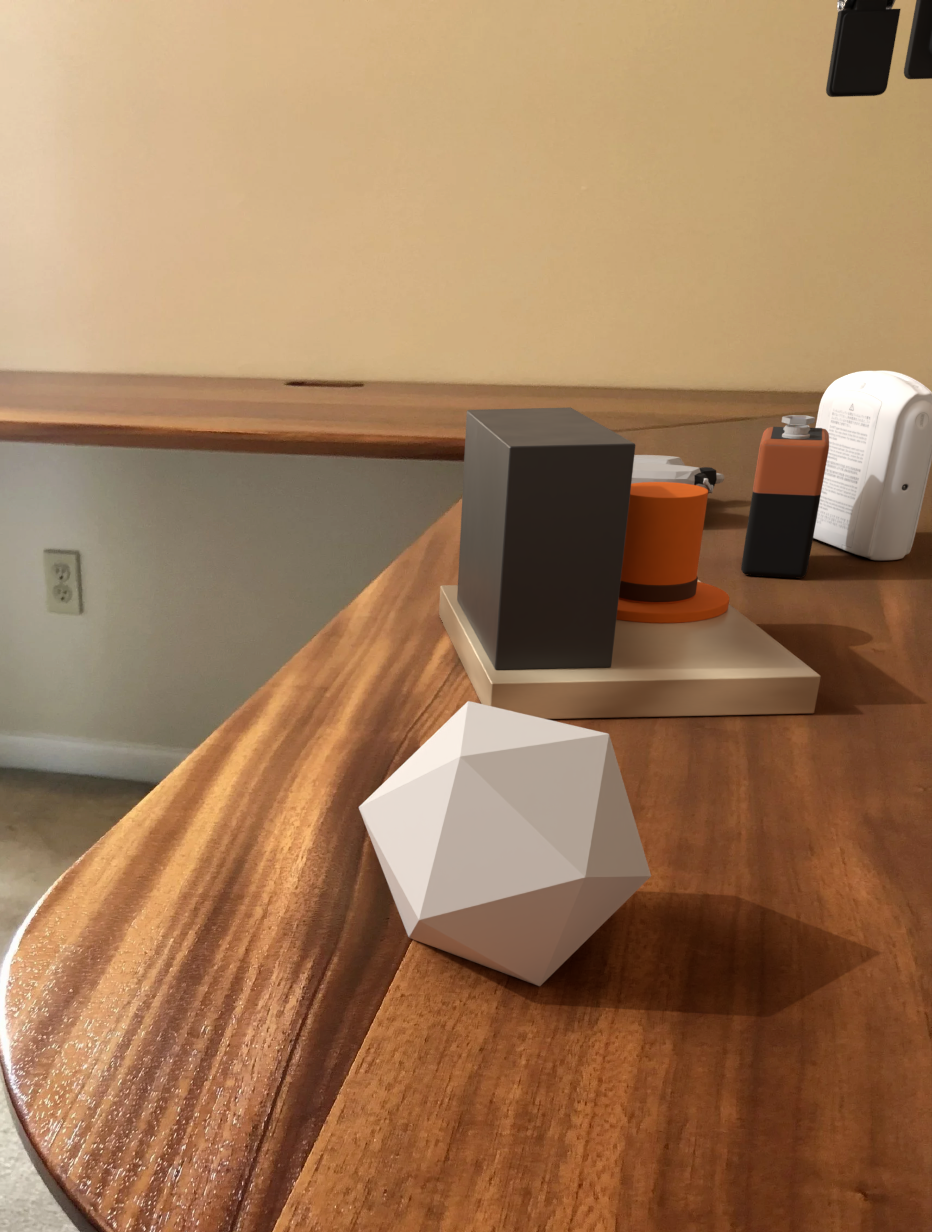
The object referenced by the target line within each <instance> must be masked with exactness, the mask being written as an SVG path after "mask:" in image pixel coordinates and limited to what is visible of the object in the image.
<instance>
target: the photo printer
mask: <svg viewBox="0 0 932 1232" xmlns="http://www.w3.org/2000/svg"><path fill="white" fill-rule="evenodd" d="M815 422H816V423H815V427H814V428H822V429H826V430H827V431H828V433H829V451H828V457H827V462H826V468H825V474H824V479H823V485H822V491H821V496H820V502H819V508H818V513H817V519H816V524H815V530H814V536H813V539H815V540H818V541H819V542H823V543H826V544H828V545H829V546H830V545H831V546H833V547H835V548H838V549H841V550H843V551H846V552H848V553H851V554H854V555H857V556H860V557H864V558H866V559H868V560H871V561H876V562H879V561H881V562H885V561H897V560H902V559H903V558H905V556H906V555H909V554H910V552H911V550H912V547H913V544H914V541H915V537H916V532H917V529H918V524H919V519H920V515H921V511H922V507H923V502H924V497H925V494H926V493H925V492H926V489H927V483H928V481H929V475H930V470H931V466H932V390H931V389H930V388H928V387H927V386H926V385H924V384H923V383H922V382H920V381H918V380H917V379H915V378H913V377H912V376H909V375H908V374H904V373H901V372H898V371H897V372H896V371H893V370H862V371H861V370H860V371H856V372H855V371H854V372H851V373H849V374H845V375H843V376H841V377H839V378H837V379H835V380H834V381H833V382H832V383H831V384H829V386H828V387H827V388H826V390H825V391H824V393H823V395H822V397H821V399H820V402H819V406H818V412H817V417H816V421H815Z"/></svg>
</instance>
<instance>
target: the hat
mask: <svg viewBox="0 0 932 1232" xmlns="http://www.w3.org/2000/svg"><path fill="white" fill-rule="evenodd" d="M708 496H709V494H708V490H707V489H706V488H703V487H701V486H697V485H691V484H684V483H673V482H641V483H632V484H631V491H630V500H629V509H628V518H627V527H626V537H625V546H624V555H623V564H622V573H621V582H620V591H619V600H618V609H617V618H616V620H623V621H631V622H642V623H684V622H694V621H701V620H706V619H710V618H714V617H717V616H719V615H721V614H723V613H725V612H726V611H727V609H728V606H729V604H730V595H729V593H728V592H726V591H725V590H723V589H722V588H719V587H717V586H715V585H712V584H708V583H706V582H702V581H701V582H698V580H699V577H698V570H699V562H700V555H701V547H702V541H703V533H704V527H705V519H706V511H707V504H708Z"/></svg>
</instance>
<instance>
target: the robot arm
mask: <svg viewBox="0 0 932 1232" xmlns="http://www.w3.org/2000/svg"><path fill="white" fill-rule="evenodd" d="M895 3H896V0H837V3H836V9H837V10H836V11H837V17H836V23H835V29H834V35H833V43H832V48H831V56H830V62H829V67H828V74H827V81H826V88H825V93H826V95H827V96H828V97H830V98H845V97H875V96H876V97H877V96H881V95H883V94H884V93H885V92H886V91H887V88H888V83H889V77H890V72H891V66H892V62H893V55H894V50H895V49H894V48H895V44H896V38H897V32H898V27H899V21H900V16H901V15H900V14H901V9H902V8H893V7H894V5H895ZM904 61H905V62H904V67H903V75H904V77H905V78H906V79H907V80H932V0H916V1H915V6H914V11H913V17H912V23H911V28H910V34H909V39H908V43H907V50H906V56H905V60H904Z"/></svg>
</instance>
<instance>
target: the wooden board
mask: <svg viewBox="0 0 932 1232" xmlns="http://www.w3.org/2000/svg"><path fill="white" fill-rule="evenodd" d="M698 582H702V581H701V580H700V579H698ZM457 591H458V584H449V585H448V584H444V585H442V584H441V585H440V587H439V606H438V616H439V615H440V616H439V618H441V619H440V621H441V620H442V621H441V623H442V622H443V623H442V625H443V627H444V629H445V631H446V633H447V635H448V638H449V639H450V642H451V643H452V645H453V648H454V649H455V652H456V655H457V656H458V658H459V661H460V662H461V664H462V666H463V668H464V671H465V673H466V675H467V676H468V677H467V678H469V681H470V683H471V685H472V687H473V689H474V692H475V693H476V695H477V698H478V700H479V701H480V704H483V705H487V706H492V707H496V708H500V709H505V710H509V711H513V712H517V713H522V714H526V715H530V716H535V717H539V718H543V719H547V720H559V719H560V720H565V719H566V720H567V719H568V720H570V719H612V718H613V719H614V718H615V719H617V718H660V717H661V718H662V717H666V718H667V717H709V716H752V715H753V716H756V715H760V716H761V715H799V714H801V715H804V714H806V715H807V714H808V715H809V714H814V713H815V709H816V704H817V700H818V694H819V688H820V683H821V678H822V676H821V675H820V674H819V673H818V672H816V671H815V670H814V669H813V668H811V667H810V666H809V665H807V663H805V662H804V661H803V660H801V659H800V658H798V657H797V656H796V655H794V654H793V652H791V651H790V650H788V649H787V647H785V646H783V645H782V644H781V643H779V642H778V641H777V640H776V639H774V638H773V637H772V636H771V635H770V634H768V633H767V632H766V631H765V630H763V629H762V628H761V627H759V626H758V625H757V624H756V623H754V622H753V621H752V620H750V619H749V618H748V617H746V615H744V613H742V612H741V611H739V610H738V609H737V608H735V607H734V606H733V605H731V604H730V603H729V606H728V609H727V611H726V612H725V613H723V614H721V615H719V616H717V617H714V618H710V619H706V620H701V621H694V622H684V623H642V622H631V621H623V620H616V627H615V637H614V646H613V655H612V664H611V667H610V668H567V669H521V670H495V668H494V667H493V665H492V663H491V661H490V659H489V658H488V656H487V654H486V652H485V650H484V648H483V647H482V645H481V643H480V641H479V639H478V637H477V636H476V634H475V632H474V630H473V628H472V627H471V625H470V623H469V621H468V619H467V617H466V616H465V614H464V612H463V610H462V608H461V607H460V605H459V603H458V601H457Z"/></svg>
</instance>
